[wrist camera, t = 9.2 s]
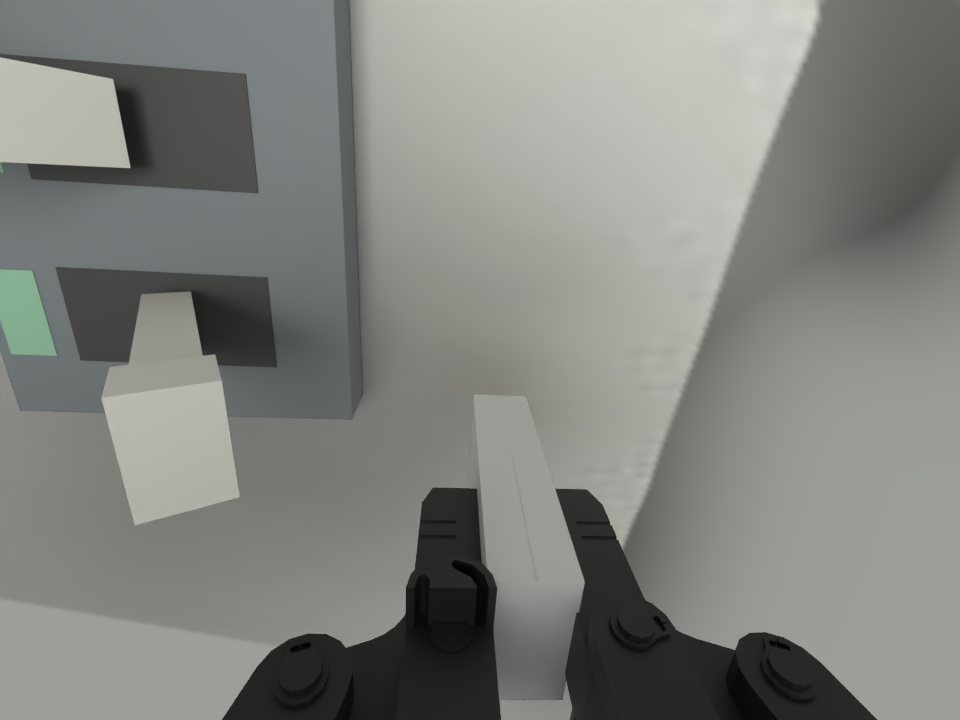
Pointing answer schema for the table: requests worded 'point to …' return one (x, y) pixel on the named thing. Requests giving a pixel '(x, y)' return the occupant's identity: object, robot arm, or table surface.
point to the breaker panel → (191, 203)
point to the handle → (59, 117)
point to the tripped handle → (169, 415)
